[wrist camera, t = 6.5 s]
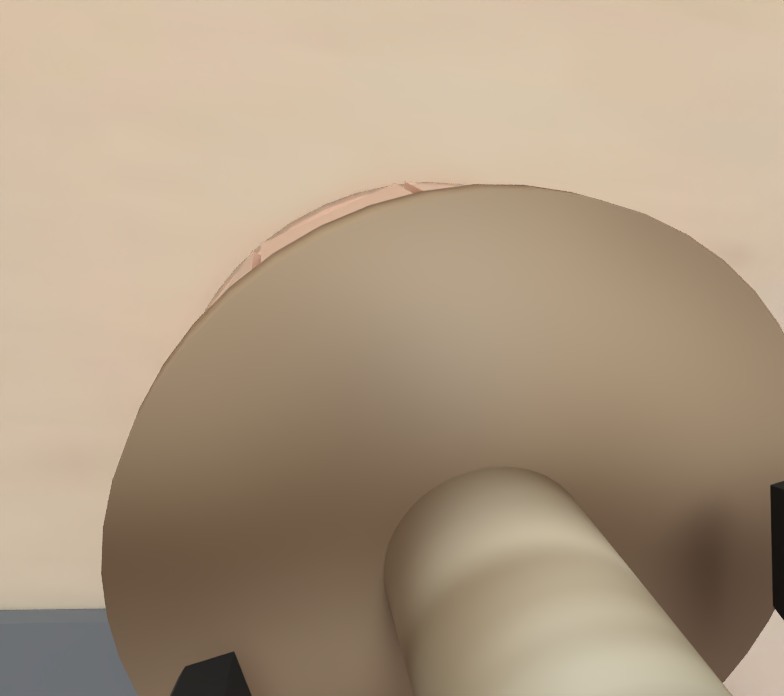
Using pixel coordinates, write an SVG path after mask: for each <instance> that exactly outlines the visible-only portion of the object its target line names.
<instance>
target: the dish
mask: <svg viewBox="0 0 784 696" xmlns="http://www.w3.org/2000/svg"><path fill="white" fill-rule="evenodd" d="M457 186H465V185H462V184H449V183H428V182H423V183H412V182H405V184H401V185H397V184H395V183H394V184H392V185H390V186H386V187H381V188H377V189H373V190H368V191H364V192H359V193H355V194H353V195H350V196H347V197H345V198H342V199H339V200H337V201H334V202H331V203H329V204H326V205H323V206H321V207H319V208H318V209H316V210H314V211H312V212H310V213H308V214H306V215H304V216H303V217H301V218H299V219H297V220H295V221H293V222H291V223H290V224H289V225H287V226H286V227H284V228H283V229H282V230H280V231H279V232H277V233H276V234H275V235H273V236H272V237H270V238H269V239H268V240H266V241H265V242H263V243H261V245H260V246H259V247H258V248H257V249H256V250H255V251H252V252H251V253H250V255H249V256H248V257H247V258H246V259H245V260H244V261H243V262H242V263H241V264H240V265H239V266H238V267H237V268H236V269H235V270H234V272H233V273H232V274H231V275H230V277H229V278H228V279H227V280H226V281H225V283H224V284H223V285H222V286H221V288H220V289H219V290H218V291H217V293H216V294H215V295H214V297H213V299H212V300H211V302H210V304H209V305H208V307H207V309H206V310H205V312H206V311H207V310H208V309H209V308H210V307H211V306H212V305H213V304H214V303H215V302H216V301H217V300H218V298H219V297H220V296H221V295H222V294H223V293H224V292H225V291H226V290H227V289H228V288H229V287H230V286H231V285H233V284H234V283H235V282H237V281H238V280H239V279H240V278H242V277H243V276H244V275H246V274H247V273H248V272H249V271H251V270H252V269H253V268H255V267H256V266H257V265H259V264H260V263H261V262H262V261H264V260H265V259H266V258H268V257H269V256H270V255H271V254H273V253H274V252H276V251H278V250H279V249H281V248H283V247H285V246H286V245H288V244H290V243H291V242H293V241H295V240H297V239H298V238H300V237H302V236H303V235H305V234H307V233H309V232H310V231H312V230H314V229H315V228H317V227H319V226H321V225H323V224H326V223H328V222H330V221H333V220H335V219H338V218H340V217H342V216H345V215H347V214H350V213H352V212H354V211H357V210H359V209H362V208H364V207H366V206H369V205H372V204H375V203H379V202H383V201H387V200H390V199H394V198H398V197H402V196H405V195H409V194H413V193H416V192H420V191H426V190H434V189H442V188H450V187H457ZM205 312H204V313H205Z"/></svg>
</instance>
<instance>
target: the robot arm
mask: <svg viewBox="0 0 784 696" xmlns="http://www.w3.org/2000/svg"><path fill="white" fill-rule="evenodd" d="M770 500H771V546H772V592H773V607H774V608H775V609H776V611H777V612H778V613H779V615H780V616H781V617H782V618H783V620H784V481H781V482H778V483H775V484H772V485H770ZM170 696H252V695H251V693H250V690H249V688H248V685H247V682H246V680H245V677H244V675H243V672H242V670H241V667H240V665H239V662H238V660H237V657H236V655H235V652H234V651H233V652H230V653H227V654H223V655H220V656H217V657H214V658H211V659H207V660H204V661H201V662H198V663H194V664H191V665H188V666H185V667H184V669H183V671H182V672H181V674H180V675H179V677H178V679H177V682H176V684H175V686H174V688H173V690H172V692H171V694H170Z"/></svg>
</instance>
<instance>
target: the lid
mask: <svg viewBox="0 0 784 696" xmlns="http://www.w3.org/2000/svg"><path fill="white" fill-rule="evenodd" d="M781 481H784V333H783V331H782V329H781V327H780V325H779V324H778V322H777V321H776V319H775V318H774V317H773V315H772V314H771V313H770V311H769V310H768V308H767V307H766V306H765V304H764V303H763V302H762V300H761V299H760V297H759V296H758V295H757V293H756V292H755V291H754V290H753V289H752V288H751V287H750V286H749V285H748V284H747V283H746V282H745V281H744V280H743V279H742V278H741V277H740V276H739V275H738V274H737V273H736V272H735V271H734V270H733V269H732V268H731V267H730V266H729V265H728V264H727V263H726V262H725V261H724V260H723V259H721V258H720V257H718V256H717V255H715V254H714V253H713V252H711V251H710V250H708V249H707V248H706V247H704V246H703V245H701V244H700V243H698V242H697V241H696V240H694V239H693V238H691V237H690V236H689V235H687V234H685V233H683V232H681V231H679V230H677V229H675V228H673V227H671V226H669V225H667V224H665V223H663V222H660V221H658V220H656V219H654V218H652V217H650V216H648V215H646V214H644V213H640V212H637V211H634V210H631V209H627V208H624V207H621V206H618V205H615V204H611V203H608V202H605V201H602V200H598V199H595V198H591V197H587V196H584V195H580V194H576V193H572V192H566V191H560V190H553V189H547V188H540V187H534V186H527V185H479V184H473V185H465V186H457V187H450V188H442V189H434V190H426V191H420V192H416V193H413V194H409V195H405V196H402V197H398V198H394V199H390V200H387V201H383V202H379V203H375V204H372V205H369V206H366V207H364V208H362V209H359V210H357V211H354V212H352V213H350V214H347V215H345V216H342V217H340V218H338V219H335V220H333V221H330V222H328V223H326V224H323V225H321V226H319V227H317V228H315V229H314V230H312V231H310V232H309V233H307V234H305V235H303V236H302V237H300V238H298V239H297V240H295V241H293V242H291V243H290V244H288V245H286V246H285V247H283V248H281V249H279V250H278V251H276V252H274V253H273V254H271V255H270V256H269V257H268V258H266V259H265V260H264V261H262V262H261V263H260V264H259V265H257V266H256V267H255V268H253V269H252V270H251V271H249V272H248V273H247V274H246V275H244V276H243V277H242V278H240V279H239V280H238V281H237V282H235V283H234V284H233V285H231V286H230V287H229V288H228V289H227V290H226V291H225V292H224V293H223V294H222V295H221V296H220V297H219V298H218V300H217V301H216V302H215V303H214V304H213V305H212V306H211V307H210V308H209V309H208V310H207V311H206V312H205V313H204V314H203V315H202V316H201V317H200V318H199V319H198V320H197V321H196V322H195V323H194V324H193V325H192V327H191V328H190V329H189V331H188V332H187V333H186V335H185V336H184V337H183V339H182V340H181V342H180V343H179V344H178V346H177V347H176V348H175V350H174V351H173V352H172V354H171V355H170V356H169V358H168V359H167V360H166V362H165V363H164V364H163V366H162V368H161V370H160V372H159V374H158V375H157V377H156V379H155V381H154V383H153V385H152V386H151V388H150V390H149V392H148V394H147V396H146V397H145V399H144V401H143V403H142V405H141V407H140V409H139V411H138V414H137V416H136V419H135V421H134V424H133V426H132V429H131V431H130V434H129V437H128V439H127V442H126V445H125V448H124V450H123V453H122V456H121V458H120V461H119V464H118V467H117V469H116V472H115V475H114V478H113V480H112V485H111V490H110V495H109V500H108V505H107V510H106V515H105V520H104V526H103V542H102V571H101V575H102V582H103V590H104V598H105V605H106V613H107V619H108V622H109V625H110V629H111V632H112V635H113V639H114V642H115V645H116V648H117V652H118V655H119V658H120V660H121V662H122V664H123V666H124V668H125V670H126V672H127V674H128V676H129V678H130V680H131V682H132V684H133V686H134V688H135V690H136V692H137V694H138V696H170V694H171V692H172V690H173V688H174V686H175V684H176V682H177V679H178V677H179V675H180V674H181V672H182V671H183V669H184V667H185V666H188V665H191V664H194V663H198V662H201V661H204V660H207V659H211V658H214V657H217V656H220V655H223V654H227V653H230V652H233V651H234V652H235V655H236V657H237V660H238V662H239V665H240V667H241V670H242V672H243V675H244V677H245V680H246V682H247V685H248V688H249V690H250V693H251V695H252V696H732V694H731V693H730V692H729V691H728V689H727V688H726V687H725V686H724V685H723V682H724V681H725V680H726V678H727V677H728V676H729V675H730V674H731V672H732V671H733V670H734V669H735V667H736V666H737V665H738V664H739V663H740V661H741V660H742V659H743V658H744V656H745V655H746V654H747V653H748V651H749V650H750V648H751V647H752V645H753V644H754V642H755V641H756V639H757V638H758V636H759V635H760V633H761V631H762V630H763V628H764V627H765V625H766V624H767V622H768V621H769V619H770V617H771V615H772V613H773V611H774V610H775V608H774V607H773V592H772V546H771V500H770V485H772V484H775V483H778V482H781Z"/></svg>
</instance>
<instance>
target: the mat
mask: <svg viewBox="0 0 784 696" xmlns="http://www.w3.org/2000/svg"><path fill="white" fill-rule="evenodd" d="M0 696H138V694H137V692H136V690H135V688H134V686H133V684H132V682H131V680H130V678H129V676H128V674H127V672H126V670H125V668H124V666H123V664H122V662H121V660H120V658H119V655H118V652H117V648H116V645H115V642H114V639H113V635H112V632H111V629H110V625H109V622H108V619H107V613H106V609H59V610H0Z"/></svg>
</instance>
